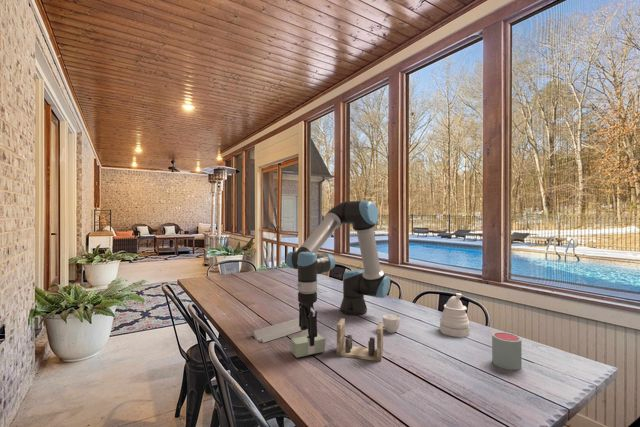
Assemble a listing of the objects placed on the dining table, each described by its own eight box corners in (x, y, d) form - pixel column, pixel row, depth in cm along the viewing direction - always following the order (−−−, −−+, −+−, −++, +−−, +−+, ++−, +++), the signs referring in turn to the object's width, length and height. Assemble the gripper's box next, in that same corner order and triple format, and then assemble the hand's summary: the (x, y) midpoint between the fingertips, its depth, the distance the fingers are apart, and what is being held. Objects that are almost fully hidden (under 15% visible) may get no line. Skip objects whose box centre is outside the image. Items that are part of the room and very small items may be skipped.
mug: (521, 372, 109) (521, 343, 109) (491, 365, 114) (491, 338, 114) (521, 357, 121) (521, 331, 121) (493, 351, 126) (493, 326, 126)
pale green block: (318, 345, 129) (318, 333, 129) (324, 351, 124) (324, 338, 124) (291, 351, 124) (290, 338, 124) (296, 357, 119) (296, 344, 119)
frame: (382, 352, 125) (382, 322, 125) (381, 361, 117) (381, 329, 117) (341, 347, 130) (341, 318, 130) (336, 355, 122) (336, 324, 122)
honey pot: (469, 329, 150) (469, 291, 150) (470, 338, 139) (469, 298, 139) (441, 325, 156) (440, 289, 156) (439, 334, 144) (438, 295, 144)
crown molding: (263, 344, 134) (263, 336, 134) (248, 337, 142) (248, 329, 142) (317, 326, 155) (317, 319, 155) (302, 321, 164) (301, 314, 164)
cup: (380, 331, 147) (380, 317, 147) (388, 325, 155) (388, 312, 155) (395, 335, 142) (395, 320, 142) (403, 329, 150) (403, 315, 150)
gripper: (290, 287, 131) (291, 342, 131) (307, 298, 113) (308, 362, 114) (307, 285, 134) (307, 339, 134) (326, 296, 116) (326, 358, 117)
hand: (307, 349), depth 124 cm, fingers closed on pale green block, 6 cm apart
